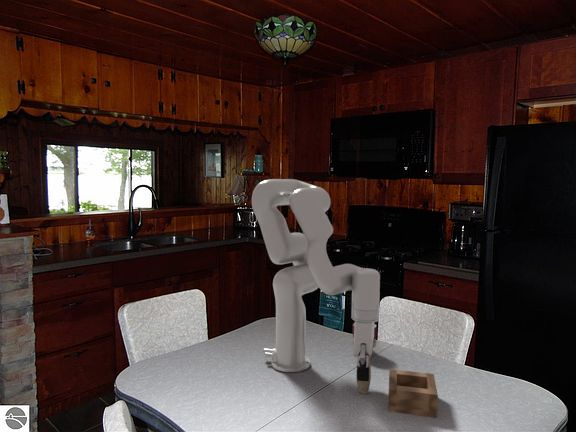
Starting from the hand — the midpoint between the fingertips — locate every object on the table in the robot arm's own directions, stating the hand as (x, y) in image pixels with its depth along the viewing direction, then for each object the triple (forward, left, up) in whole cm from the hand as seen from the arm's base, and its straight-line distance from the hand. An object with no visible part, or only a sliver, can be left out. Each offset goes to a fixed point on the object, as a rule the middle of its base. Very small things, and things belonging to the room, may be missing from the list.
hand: (364, 372), depth 123 cm
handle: (0, 0, -6) cm, 6 cm away
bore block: (+13, -3, -6) cm, 14 cm away
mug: (-2, +28, -6) cm, 29 cm away
